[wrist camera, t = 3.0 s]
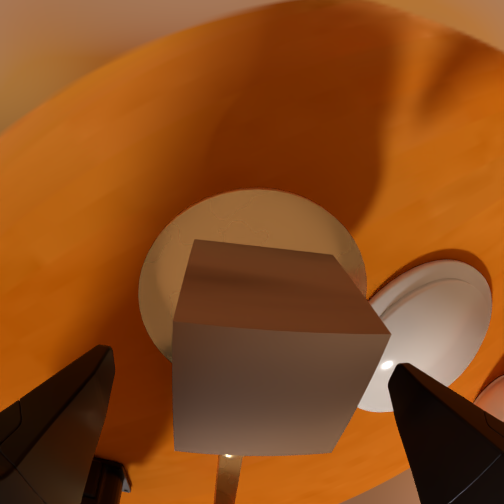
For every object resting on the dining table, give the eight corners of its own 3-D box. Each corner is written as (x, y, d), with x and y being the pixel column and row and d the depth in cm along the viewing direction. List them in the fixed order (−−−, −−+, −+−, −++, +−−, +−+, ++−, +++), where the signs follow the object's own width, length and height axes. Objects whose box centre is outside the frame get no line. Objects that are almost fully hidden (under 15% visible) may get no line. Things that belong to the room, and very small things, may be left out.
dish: (444, 397, 23) (450, 407, 22) (313, 411, 21) (317, 424, 20) (508, 267, 18) (519, 275, 17) (371, 247, 17) (381, 257, 15)
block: (303, 359, 13) (331, 452, 9) (187, 352, 13) (174, 450, 8) (332, 254, 12) (391, 334, 7) (194, 238, 11) (172, 320, 6)
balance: (265, 469, 24) (276, 548, 16) (166, 463, 23) (158, 544, 15) (350, 187, 15) (455, 250, 7) (166, 161, 14) (95, 204, 6)
